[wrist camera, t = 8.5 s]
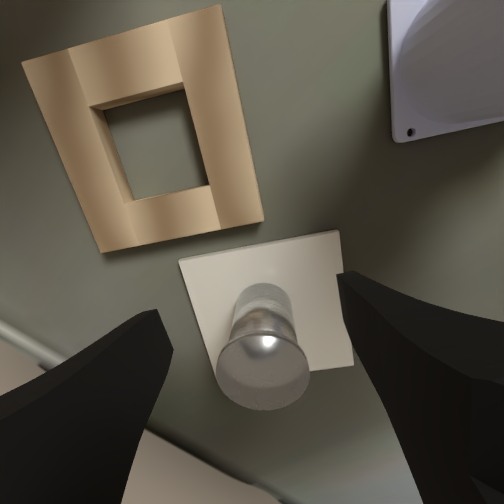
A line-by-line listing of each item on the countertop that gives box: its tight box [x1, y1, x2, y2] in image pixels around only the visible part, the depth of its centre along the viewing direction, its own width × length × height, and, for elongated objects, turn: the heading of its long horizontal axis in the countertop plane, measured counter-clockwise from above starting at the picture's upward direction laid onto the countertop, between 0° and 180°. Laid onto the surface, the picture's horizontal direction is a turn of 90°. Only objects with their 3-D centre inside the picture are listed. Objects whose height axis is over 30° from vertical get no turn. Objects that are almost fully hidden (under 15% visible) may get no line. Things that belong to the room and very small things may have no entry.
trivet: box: [178, 229, 354, 383], centre depth 22 cm, size 12×12×1 cm
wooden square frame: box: [21, 4, 264, 253], centre depth 18 cm, size 12×12×2 cm
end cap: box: [216, 283, 310, 410], centre depth 18 cm, size 5×5×7 cm
